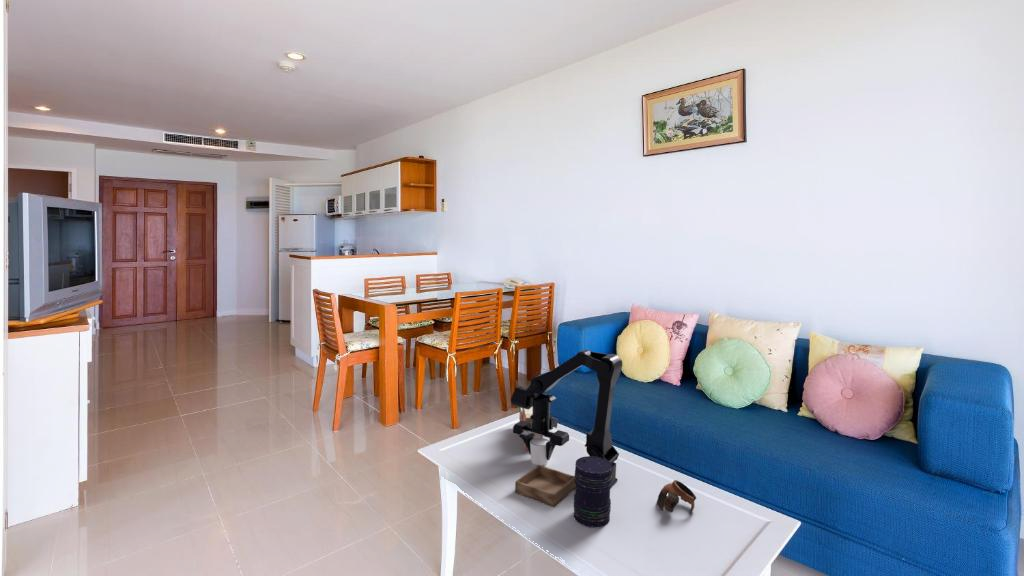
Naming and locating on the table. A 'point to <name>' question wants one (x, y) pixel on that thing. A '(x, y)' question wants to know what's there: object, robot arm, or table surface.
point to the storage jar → (592, 491)
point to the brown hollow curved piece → (675, 496)
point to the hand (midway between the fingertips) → (539, 457)
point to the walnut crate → (545, 485)
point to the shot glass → (538, 451)
